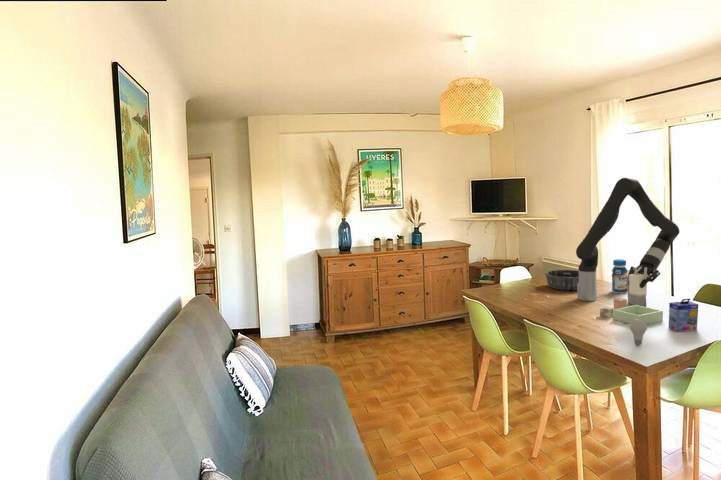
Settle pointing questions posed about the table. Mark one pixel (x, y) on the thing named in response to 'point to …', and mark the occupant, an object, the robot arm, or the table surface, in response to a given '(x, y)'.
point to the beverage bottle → (619, 276)
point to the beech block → (606, 312)
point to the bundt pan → (563, 279)
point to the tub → (638, 314)
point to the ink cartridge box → (683, 316)
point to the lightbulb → (638, 330)
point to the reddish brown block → (620, 303)
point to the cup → (637, 285)
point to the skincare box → (635, 297)
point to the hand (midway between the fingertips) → (635, 285)
